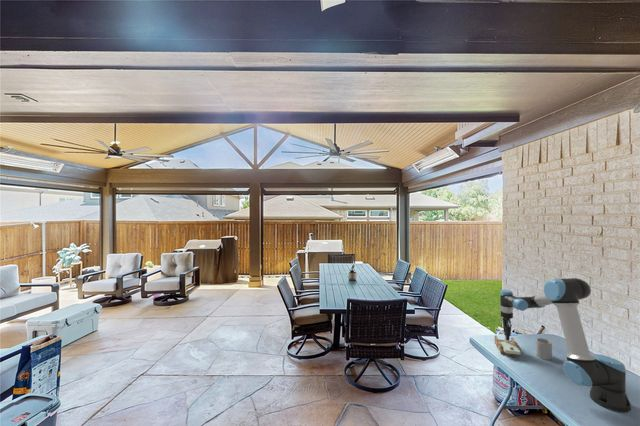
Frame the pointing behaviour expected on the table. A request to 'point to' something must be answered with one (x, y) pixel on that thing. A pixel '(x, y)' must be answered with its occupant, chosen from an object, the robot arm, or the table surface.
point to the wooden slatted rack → (500, 347)
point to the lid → (510, 348)
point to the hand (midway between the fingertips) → (507, 343)
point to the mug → (544, 348)
